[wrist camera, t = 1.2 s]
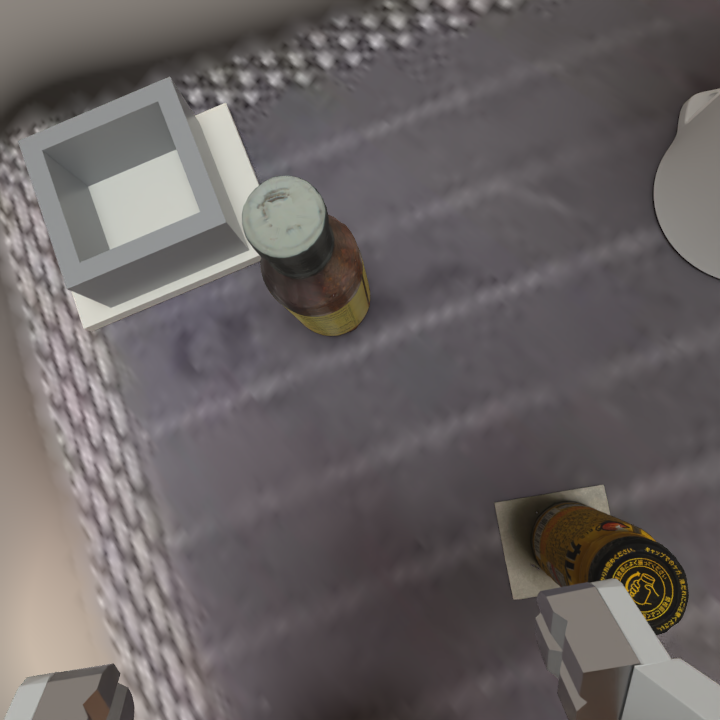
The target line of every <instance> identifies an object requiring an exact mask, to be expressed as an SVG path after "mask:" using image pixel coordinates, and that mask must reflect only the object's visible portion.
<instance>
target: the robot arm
mask: <svg viewBox="0 0 720 720" xmlns="http://www.w3.org/2000/svg"><path fill="white" fill-rule="evenodd" d="M654 204H655V210H656V214H657V218H658V221H659V223H660V226H661V228H662V230H663V232H664V234H665V236H666V237H667V239H668V240H669V242H670V243H671V244H672V246H673V247H674V248H675V249H676V250H677V252H678V253H679V254H680V255H681V256H682V257H683V258H685V259H686V260H687V261H688V262H689V263H691V264H692V265H694V266H695V267H697V268H698V269H700V270H701V271H703V272H705V273H707V274H709V275H711V276H714V277H716V278H719V279H720V88H719V89H715V90H710V91H705V92H701V93H697V94H695V95H693V96H692V97H691V98H690V99H689V100H687V101H686V102H685V103H684V105H683V106H682V108H681V111H680V116H679V122H678V130H677V135H676V137H675V139H674V141H673V142H672V144H671V145H670V147H669V148H668V150H667V152H666V153H665V155H664V156H663V158H662V160H661V162H660V165H659V167H658V170H657V173H656V177H655V183H654ZM537 605H538V607H539V610H540V612H541V613H540V614H539V615H538V616H537V617H536V618H535V632H536V638H537V644H538V647H539V650H540V653H541V656H542V659H543V661H544V664H545V666H546V668H547V670H548V671H549V672H551V673H552V674H553V675H554V676H556V677H557V678H558V679H559V683H558V692H557V694H558V697H559V699H560V701H561V703H562V706H563V708H564V710H565V713H566V715H567V717H568V720H720V685H719V684H717V683H716V682H715V681H713V680H712V679H710V678H709V677H707V676H706V675H704V674H703V673H701V672H700V671H698V670H697V669H695V668H694V667H692V666H691V665H689V664H688V663H686V662H685V661H683V660H682V659H680V658H675V659H671V657H670V656H669V654H668V653H667V651H666V650H665V648H664V647H663V645H662V643H661V642H660V640H659V639H658V637H657V636H656V634H655V633H654V631H653V630H652V628H651V627H650V625H649V624H648V622H647V621H646V619H645V618H644V616H643V614H642V613H641V611H640V610H639V608H638V607H637V605H636V604H635V602H634V601H633V599H632V598H631V596H630V595H629V593H628V592H627V590H626V589H625V587H624V586H623V584H622V583H621V582H620V581H619V580H617V579H613V578H612V579H606V580H601V581H596V582H591V583H588V582H586V583H580V584H575V585H570V586H564V587H559V588H554V589H548V590H543V591H540V592H539V593H538V595H537ZM119 677H120V672H119V671H118V669H117V668H116V666H115V665H114V664H108V665H102V666H96V667H89V668H83V669H77V670H70V671H64V672H55V673H49V674H44V675H38V676H32V677H27V678H26V679H25V680H24V682H23V683H22V684H21V686H19V688H18V690H17V692H16V694H15V696H14V698H13V701H12V703H11V705H10V707H9V709H8V711H7V714H6V716H5V718H4V720H134V702H133V697H132V694H131V692H130V690H129V689H128V687H126V686H124V685H121V684H119V683H118V680H119Z"/></svg>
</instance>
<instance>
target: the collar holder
mask: <svg viewBox="0 0 720 720" xmlns="http://www.w3.org/2000/svg"><path fill="white" fill-rule="evenodd" d="M18 143H19V146H20V149H21V152H22V155H23V158H24V161H25V164H26V167H27V170H28V173H29V176H30V179H31V182H32V185H33V188H34V191H35V194H36V197H37V200H38V203H39V206H40V209H41V212H42V215H43V218H44V221H45V224H46V227H47V230H48V233H49V236H50V239H51V242H52V245H53V248H54V251H55V254H56V257H57V260H58V263H59V267H60V270H61V273H62V276H63V279H64V282H65V285H66V288H67V289H68V290H70V291H71V292H72V295H73V298H74V301H75V304H76V307H77V310H78V313H79V316H80V319H81V322H82V325H83V328H84V329H86V330H89V331H94V330H97V329H99V328H101V327H104V326H106V325H108V324H111V323H113V322H116V321H118V320H120V319H123V318H125V317H128V316H130V315H132V314H135V313H137V312H140V311H142V310H144V309H147V308H149V307H152V306H154V305H156V304H159V303H161V302H163V301H166V300H168V299H171V298H173V297H175V296H178V295H180V294H183V293H185V292H187V291H190V290H192V289H195V288H197V287H199V286H202V285H204V284H207V283H209V282H211V281H214V280H216V279H218V278H221V277H223V276H226V275H228V274H230V273H233V272H235V271H238V270H240V269H242V268H245V267H247V266H250V265H252V264H254V263H257V262H259V261H260V260H261V256H260V255H259V254H258V253H257V252H256V251H255V250H254V249H253V247H252V246H251V244H250V243H249V242H248V240H247V238H246V236H245V233H244V230H243V225H242V211H243V206H244V204H245V203H246V201H247V198H248V196H249V195H250V194H251V193H252V192H253V190H254V189H255V188H256V187H258V186H259V185H260V184H259V182H258V179H257V177H256V174H255V172H254V170H253V167H252V165H251V162H250V160H249V157H248V155H247V152H246V150H245V147H244V145H243V142H242V140H241V137H240V135H239V132H238V130H237V127H236V125H235V122H234V120H233V117H232V115H231V112H230V110H229V108H228V106H227V104H226V103H224V104H222V105H219V106H217V107H215V108H212V109H210V110H207V111H205V112H203V113H200V114H198V115H196V116H195V115H194V113H193V112H192V110H191V109H190V107H189V106H188V104H187V102H186V101H185V99H184V98H183V96H182V95H181V93H180V92H179V90H178V88H177V87H176V85H175V84H174V82H173V81H172V79H171V78H170V77H168V78H166V79H163V80H161V81H159V82H156V83H154V84H151V85H149V86H147V87H144V88H142V89H140V90H137V91H135V92H133V93H130V94H128V95H126V96H123V97H121V98H118V99H116V100H114V101H111V102H109V103H107V104H104V105H102V106H100V107H97V108H95V109H93V110H90V111H88V112H85V113H83V114H81V115H78V116H76V117H74V118H71V119H69V120H67V121H64V122H62V123H60V124H57V125H55V126H52V127H50V128H48V129H45V130H43V131H41V132H38V133H36V134H34V135H31V136H29V137H27V138H24V139H22V140H19V141H18Z"/></svg>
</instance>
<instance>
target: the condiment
mask: <svg viewBox="0 0 720 720" xmlns="http://www.w3.org/2000/svg"><path fill="white" fill-rule="evenodd" d="M495 509H496V514H497V520H498V525H499V530H500V536H501V541H502V546H503V551H504V556H505V561H506V566H507V570H508V576H509V581H510V585H511V590H512V595H513V600H516V599H524V598H529V597H537V595H538V593H539V592H540V591H543V590H548V589H554V588H559V587H564V586H570V585H575V584H580V583H586V582H588V583H591V582H596V581H601V580H606V579H612V578H613V579H617V580H619V581H620V582H621V583H622V584H623V586H624V587H625V589H626V590H627V592H628V593H629V595H630V596H631V598H632V599H633V601H634V602H635V604H636V605H637V607H638V608H639V610H640V611H641V613H642V614H643V616H644V618H645V619H646V621H647V622H648V624H649V625H650V627H651V628H652V630H653V631H654V633H655V634H656V635H659V634H662V633H665V632H667V631H668V630H669V629H670V628H671V627H672V626H674V625H675V624H677V623H679V621H680V620H681V619H682V617H683V615H684V612H685V610H686V606H687V602H688V596H689V594H688V584H687V578H686V575H685V572H684V570H683V568H682V566H681V565H680V564H679V562H678V561H677V559H676V557H675V556H674V555H672V554H671V553H670V551H669V550H668V549H667V548H665V547H664V546H663V545H661V544H659V543H658V542H656V541H655V540H654V539H653V538H652V537H651V536H650V535H649V534H648V533H646V532H645V531H644V530H642V529H641V528H638V527H636V526H634V525H632V524H629V523H627V522H625V521H622V520H620V519H618V518H615V517H613V516H611V515H610V511H609V506H608V502H607V497H606V492H605V488H604V485H599V486H593V487H586V488H580V489H575V490H567V491H561V492H555V493H550V494H544V495H539V496H532V497H526V498H519V499H514V500H509V501H502V502H496V503H495ZM536 512H538V513H536ZM531 564H533V565H535V567H532V566H531ZM537 567H539V568H540V570H538V569H537Z"/></svg>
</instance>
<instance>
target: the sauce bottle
mask: <svg viewBox="0 0 720 720" xmlns="http://www.w3.org/2000/svg"><path fill="white" fill-rule="evenodd" d="M242 225H243V230H244V233H245V236H246V238H247V240H248V242H249V243H250V244H251V246H252V247H253V249H254V250H255V251H256V252H257V253H258V254H259V255H260V256H261V260H260V265H261V273H262V277H263V280H264V282H265V284H266V286H267V288H268V290H269V291H270V293H271V294H272V295H273V296H274V298H275V299H276V300H277V301H278V302H279V303H280V304H282V305H283V306H284V307H285V308H286V309H287V310H288V311H290V312H291V313H292V314H293V315H294V316H295V317H296V318H297V319H298V320H299V321H300V322H301V323H303V324H304V325H305V326H306V327H307V328H309V329H310V330H312V331H314V332H316V333H319V334H322V335H327V336H337V335H341V334H344V333H347V332H351V331H352V330H354V329H356V328H357V326H358V325H359V324H360V323H361V322H362V320H363V318H364V317H365V315H366V313H367V311H368V308H369V304H370V289H369V285H368V280H367V276H366V272H365V268H364V264H363V260H362V256H361V253H360V250H359V248H358V246H357V244H356V241H355V238H354V236H353V235H352V233H351V232H350V230H349V229H348V227H347V226H346V225H345V224H343V223H341V222H339V221H338V220H337V219H336V218H334V217H332V216H330V215H328V212H327V207H326V205H325V203H324V201H323V199H322V197H321V195H320V194H319V192H318V191H317V190H316V189H315V188H314V187H313V186H312V185H311V184H310V183H309V182H307V181H305V180H303V179H301V178H296V177H293V176H278V177H273V178H271V179H269V180H267V181H265V182H263V183H262V184H260V185H259V186H258V187H256V188H255V189H254V190H253V192H252V193H251V194H250V195H249V196H248V198H247V201H246V203H245V204H244V206H243V211H242Z"/></svg>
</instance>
